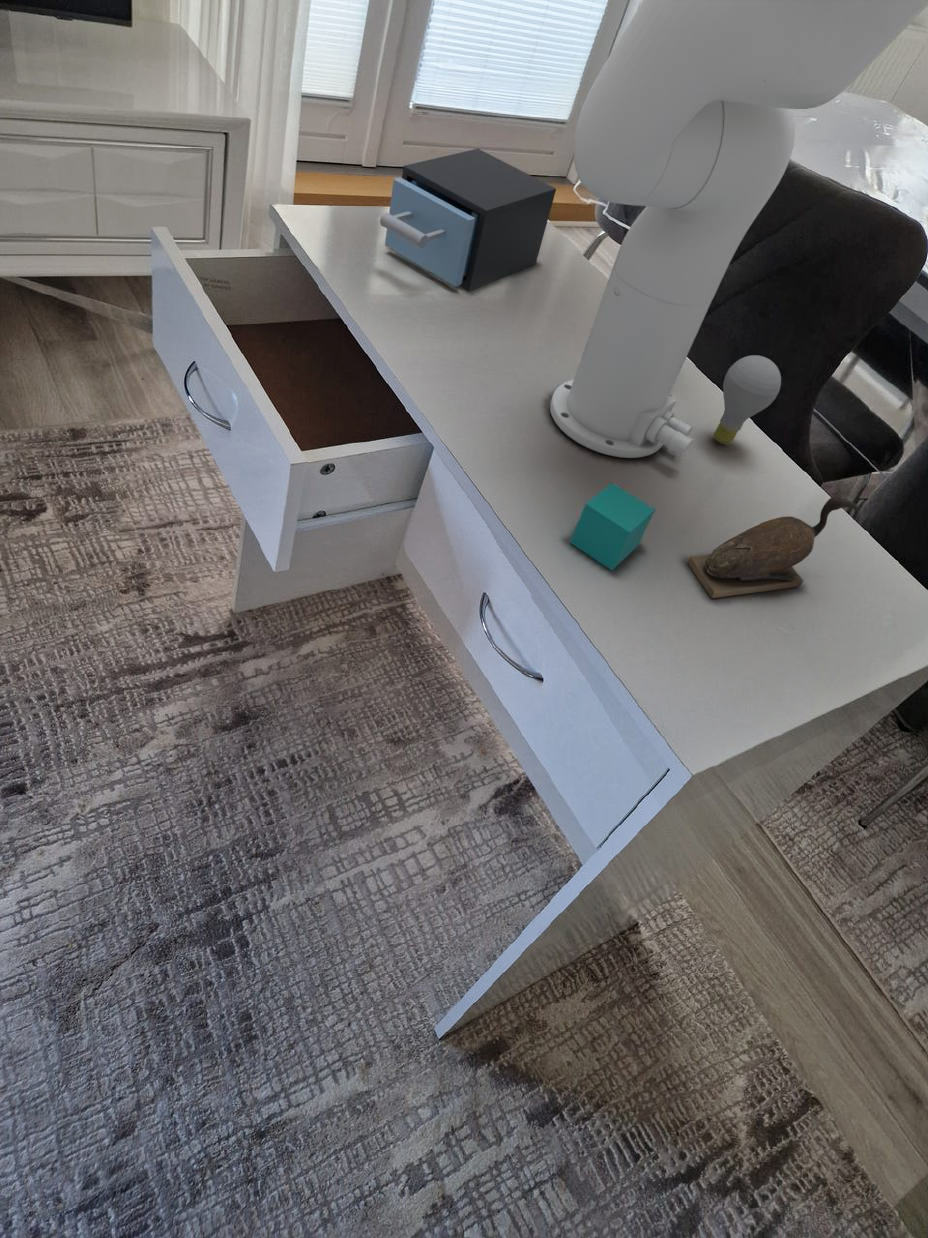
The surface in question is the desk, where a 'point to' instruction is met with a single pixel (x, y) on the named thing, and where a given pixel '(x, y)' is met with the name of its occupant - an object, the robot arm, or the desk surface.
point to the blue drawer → (430, 229)
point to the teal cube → (611, 526)
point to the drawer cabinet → (492, 210)
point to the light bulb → (746, 393)
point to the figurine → (762, 555)
